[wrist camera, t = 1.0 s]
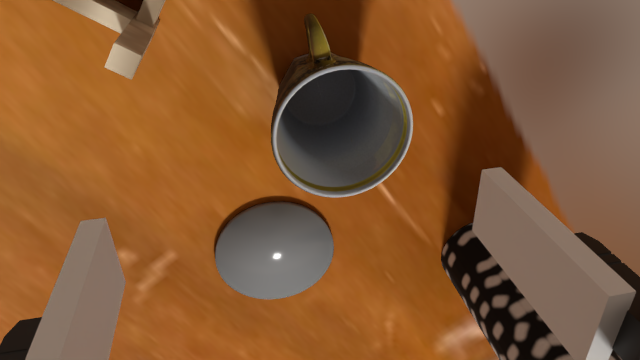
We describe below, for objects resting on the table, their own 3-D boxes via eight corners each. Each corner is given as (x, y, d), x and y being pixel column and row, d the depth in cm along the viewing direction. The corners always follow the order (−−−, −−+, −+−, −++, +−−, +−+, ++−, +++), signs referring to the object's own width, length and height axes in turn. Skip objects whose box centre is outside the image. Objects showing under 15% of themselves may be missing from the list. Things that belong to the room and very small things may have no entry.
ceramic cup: (383, 122, 44) (422, 174, 36) (279, 154, 44) (294, 215, 36) (354, -25, 38) (393, -3, 29) (231, 13, 37) (235, 46, 29)
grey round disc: (195, 275, 49) (195, 279, 49) (249, 183, 45) (249, 186, 45) (296, 307, 54) (297, 311, 53) (353, 226, 50) (355, 229, 49)
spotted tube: (493, 281, 58) (608, 440, 40) (431, 276, 55) (525, 443, 38) (522, 223, 54) (663, 372, 37) (456, 216, 52) (574, 371, 35)
